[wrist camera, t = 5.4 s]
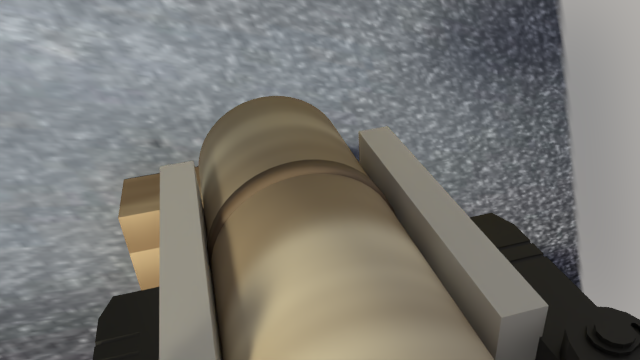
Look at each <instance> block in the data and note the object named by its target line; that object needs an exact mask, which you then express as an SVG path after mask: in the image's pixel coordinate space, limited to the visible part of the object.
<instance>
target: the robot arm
mask: <svg viewBox="0 0 640 360" xmlns="http://www.w3.org/2000/svg"><path fill="white" fill-rule="evenodd" d="M359 158H360V165H361V166H362V168H363V169H364V171H365V172H366V174H367V175H368V176H369V178H370V179H371V180H373V182H374V183H375V184H376V185H377V186H378V187H379V188H380V190H381V191H382V193H383V194H384V196H385V197H386V198H387V200H388V201H389V203H390V205H391V206H392V208H393V210H394V212H395V214H396V217H397V219H398V220H399V222H400V223H401V225H402V226H403V227H404V229H405V230H406V232H407V233H408V235H409V236H410V238H411V239H412V241H413V242H414V243H415V245H416V246H417V248H418V249H419V251H420V252H421V254H422V255H423V257H424V258H425V259H426V261H427V262H428V264H429V265H430V267H431V268H432V270H433V271H434V273H435V274H436V275H437V277H438V278H439V280H440V281H441V283H442V284H443V286H444V287H445V289H446V290H447V291H448V293H449V294H450V296H451V297H452V299H453V300H454V302H455V303H456V305H457V306H458V307H459V309H460V310H461V312H462V313H463V315H464V316H465V318H466V319H467V321H468V322H469V323H470V325H471V326H472V328H473V329H474V331H475V332H476V334H477V335H478V337H479V338H480V339H481V341H482V342H483V344H484V345H485V347H486V348H487V350H488V351H489V353H490V354H491V355H492V357H493V358H494V360H640V320H639V319H637V318H635V317H634V316H631V315H630V314H628V313H626V312H622V311H619V310H616V309H613V308H609V307H597V306H596V305H595V304H594V303H593V302H592V301H591V300H590V299H589V298H588V297H587V296H586V295H585V294H584V293H583V292H582V291H581V290H580V289H579V288H578V287H577V286H576V285H575V284H574V283H573V282H572V281H571V280H570V279H569V278H568V277H567V276H566V275H565V274H564V273H563V272H562V271H560V270H559V269H558V268H557V267H556V266H555V265H554V264H553V263H552V262H551V261H550V260H549V259H548V258H547V257H544V256H543V253H542V252H541V251H540V250H539V249H538V248H537V247H536V246H535V245H534V244H533V243H532V244H531V243H530V240H529V239H528V238H527V237H526V236H525V235H524V234H523V233H522V232H521V231H520V230H519V229H518V228H517V227H516V226H515V225H514V224H512V223H510V222H508V221H506V220H504V219H502V218H501V217H499V216H497V215H495V214H493V213H488V214H484V215H479V216H474V217H470V218H469V216H468V215H467V214H466V213H465V212H464V211H463V210H462V209H461V208H460V206H459V205H458V204H457V203H456V202H455V201H454V200H453V199H452V198H451V196H450V195H449V194H448V193H447V192H446V191H445V190H444V189H443V188H442V186H441V185H440V184H439V183H438V182H437V181H436V180H435V179H434V178H433V176H432V175H431V174H430V173H429V172H428V171H427V170H426V169H425V168H424V166H423V165H422V164H421V163H420V162H419V161H418V160H417V159H416V158H415V156H414V155H413V154H412V153H411V152H410V151H409V150H408V149H407V147H406V146H405V145H404V144H403V143H402V142H401V141H400V140H399V139H398V137H397V136H396V135H395V134H394V133H393V132H392V131H391V130H390V129H389V127H388V126H387V127H381V128H376V129H370V130H364V131H359ZM207 241H208V239H207V231H206V223H205V215H204V209H203V204H202V199H201V195H200V190H199V186H198V181H197V176H196V172H195V167H194V163H193V161H189V162H184V163H178V164H172V165H167V166H161V167H160V278H159V287H155V288H150V289H146V290H141V291H137V292H132V293H127V294H123V295H118V296H114V297H112V299H111V300H110V302H109V304H108V305H107V307H106V308H105V310H104V311H103V313H102V314H101V316H100V317H99V319H98V326H97V333H96V340H95V343H96V347H95V348H94V355H93V360H223V357H222V349H221V341H220V333H219V325H218V317H217V310H216V302H215V294H214V286H213V278H212V273H211V269H210V265H209V259H208V251H207Z"/></svg>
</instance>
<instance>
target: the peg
mask: <svg viewBox="0 0 640 360" xmlns="http://www.w3.org/2000/svg"><path fill="white" fill-rule="evenodd" d="M199 176H200V184H201V192H202V200H203V208H204V215H205V223H206V231H207V239H208V241H207V251H208V259H209V265H210V269H211V273H212V278H213V286H214V294H215V302H216V310H217V317H218V325H219V333H220V341H221V349H222V357H223V360H494V358H493V357H492V355H491V354H490V353H489V351H488V350H487V348H486V347H485V345H484V344H483V342H482V341H481V339H480V338H479V337H478V335H477V334H476V332H475V331H474V329H473V328H472V326H471V325H470V323H469V322H468V321H467V319H466V318H465V316H464V315H463V313H462V312H461V310H460V309H459V307H458V306H457V305H456V303H455V302H454V300H453V299H452V297H451V296H450V294H449V293H448V291H447V290H446V289H445V287H444V286H443V284H442V283H441V281H440V280H439V278H438V277H437V275H436V274H435V273H434V271H433V270H432V268H431V267H430V265H429V264H428V262H427V261H426V259H425V258H424V257H423V255H422V254H421V252H420V251H419V249H418V248H417V246H416V245H415V243H414V242H413V241H412V239H411V238H410V236H409V235H408V233H407V232H406V230H405V229H404V227H403V226H402V225H401V223H400V222H399V220H398V219H397V217H396V214H395V212H394V210H393V208H392V206H391V205H390V203H389V201H388V200H387V198H386V197H385V196H384V194H383V193H382V191H381V190H380V188H379V187H378V186H377V185H376V184H375V183H374V182H373V180H371V179H370V178H369V176H368V175H367V174H366V172H365V171H364V169H363V168H362V166H361V165H360V163H359V162H358V160H357V159H356V158H355V156H354V155H353V153H352V152H351V150H350V149H349V147H348V146H347V144H346V143H345V142H344V140H343V139H342V137H341V136H340V134H339V133H338V131H337V130H336V128H335V127H334V126H333V124H332V123H331V121H330V120H329V119H328V118H327V117H326V116H325V114H323V113H322V112H321V111H320V110H319V109H317V108H316V107H314V106H312V105H311V104H309V103H307V102H304V101H302V100H299V99H295V98H291V97H285V96H269V97H261V98H257V99H253V100H250V101H247V102H245V103H242V104H240V105H238V106H237V107H235V108H233V109H232V110H230V111H229V112H227V113H226V114H225V115H224V116H222V117H221V118H220V119H219V120H218V121H217V122H216V123H215V125H214V126H213V127H212V128H211V130H210V131H209V133H208V134H207V136H206V138H205V140H204V142H203V145H202V148H201V151H200V157H199Z"/></svg>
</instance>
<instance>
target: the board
mask: <svg viewBox="0 0 640 360" xmlns="http://www.w3.org/2000/svg"><path fill="white" fill-rule="evenodd" d="M195 172H196V176H197V181H198V186H199V190H200V195H201V199H202V192H201V184H200V176H199V167H195ZM202 204H203V200H202ZM203 209H204V208H203ZM118 218H119V222H120V225H121V228H122V231H123V234H124V237H125V241H126V244H127V247H128V250H129V253H130V256H131V260H132V263H133V266H134V269H135V272H136V275H137V278H138V282H139V285H140V288H141V290H146V289H150V288H155V287H159V278H160V173H159V174H153V175H147V176H142V177H136V178H130V179H125V180H124V183H123V189H122V196H121V203H120V210H119V216H118Z"/></svg>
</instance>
